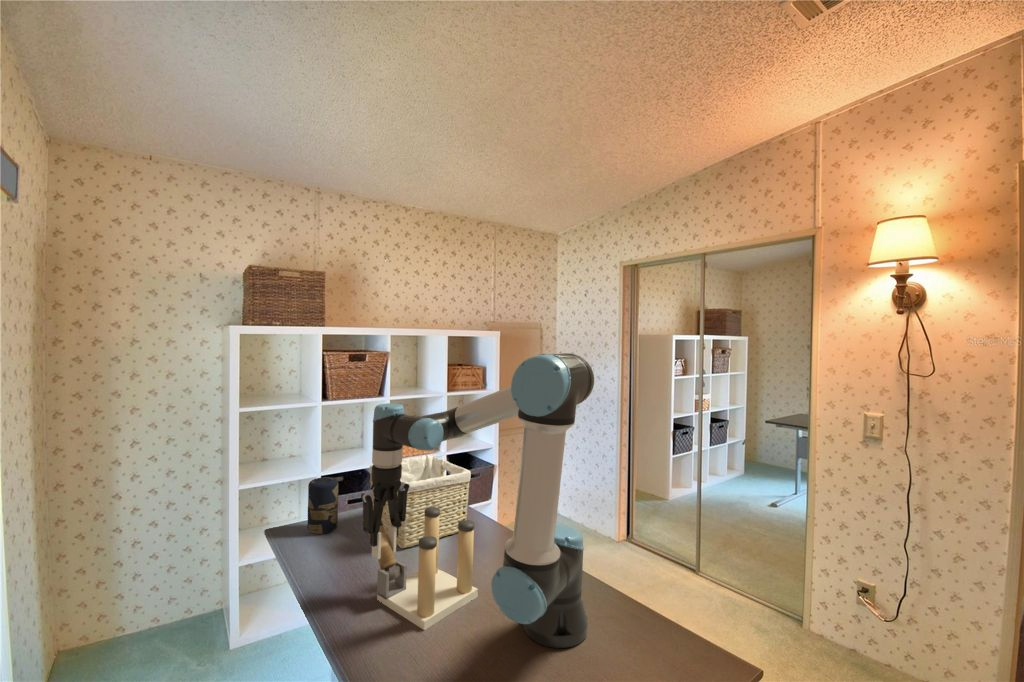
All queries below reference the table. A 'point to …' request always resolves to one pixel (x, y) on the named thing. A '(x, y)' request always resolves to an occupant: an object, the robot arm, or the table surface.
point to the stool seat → (431, 578)
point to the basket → (430, 497)
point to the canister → (322, 505)
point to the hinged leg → (388, 556)
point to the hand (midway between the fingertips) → (383, 553)
